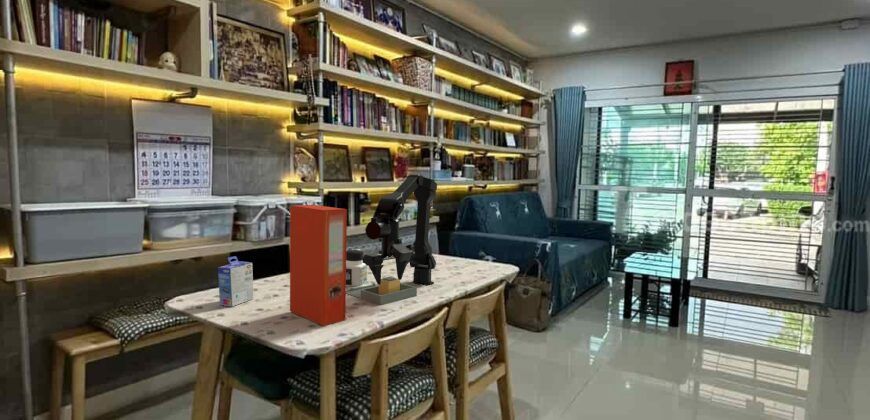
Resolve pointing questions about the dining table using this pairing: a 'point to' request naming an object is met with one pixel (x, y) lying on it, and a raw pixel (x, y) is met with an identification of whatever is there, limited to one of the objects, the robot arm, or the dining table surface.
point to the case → (374, 296)
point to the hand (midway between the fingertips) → (389, 282)
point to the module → (389, 285)
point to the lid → (359, 289)
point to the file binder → (318, 263)
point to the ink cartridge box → (235, 282)
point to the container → (355, 268)
